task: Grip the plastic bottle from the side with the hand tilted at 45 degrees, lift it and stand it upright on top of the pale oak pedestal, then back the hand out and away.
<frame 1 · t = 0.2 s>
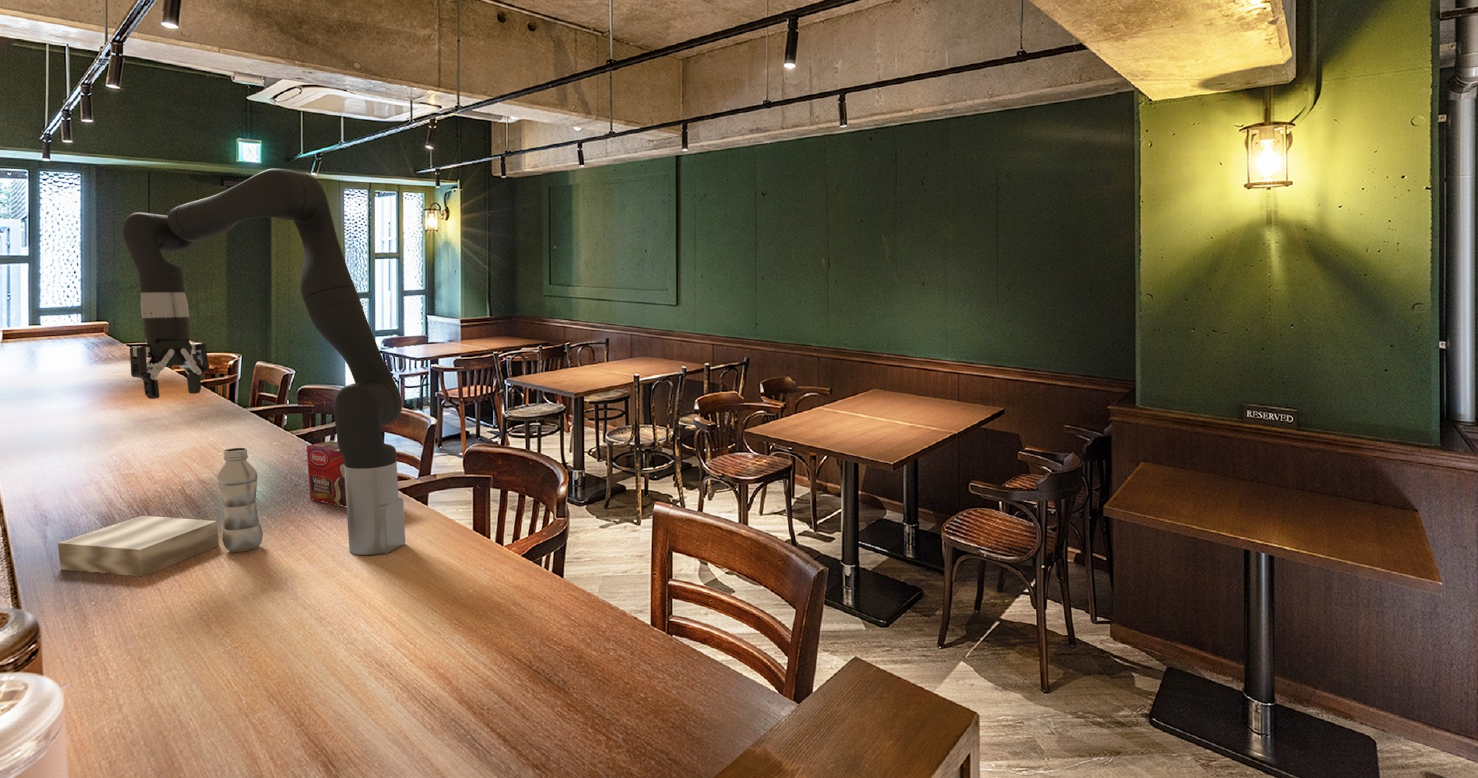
hand: (174, 395, 149), 29 cm above the table, tool pointing down, fingers open, 8 cm apart
ice cream box: (350, 503, 175), on the table
oak pedestal: (143, 556, 139), on the table
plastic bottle: (244, 550, 144), on the table
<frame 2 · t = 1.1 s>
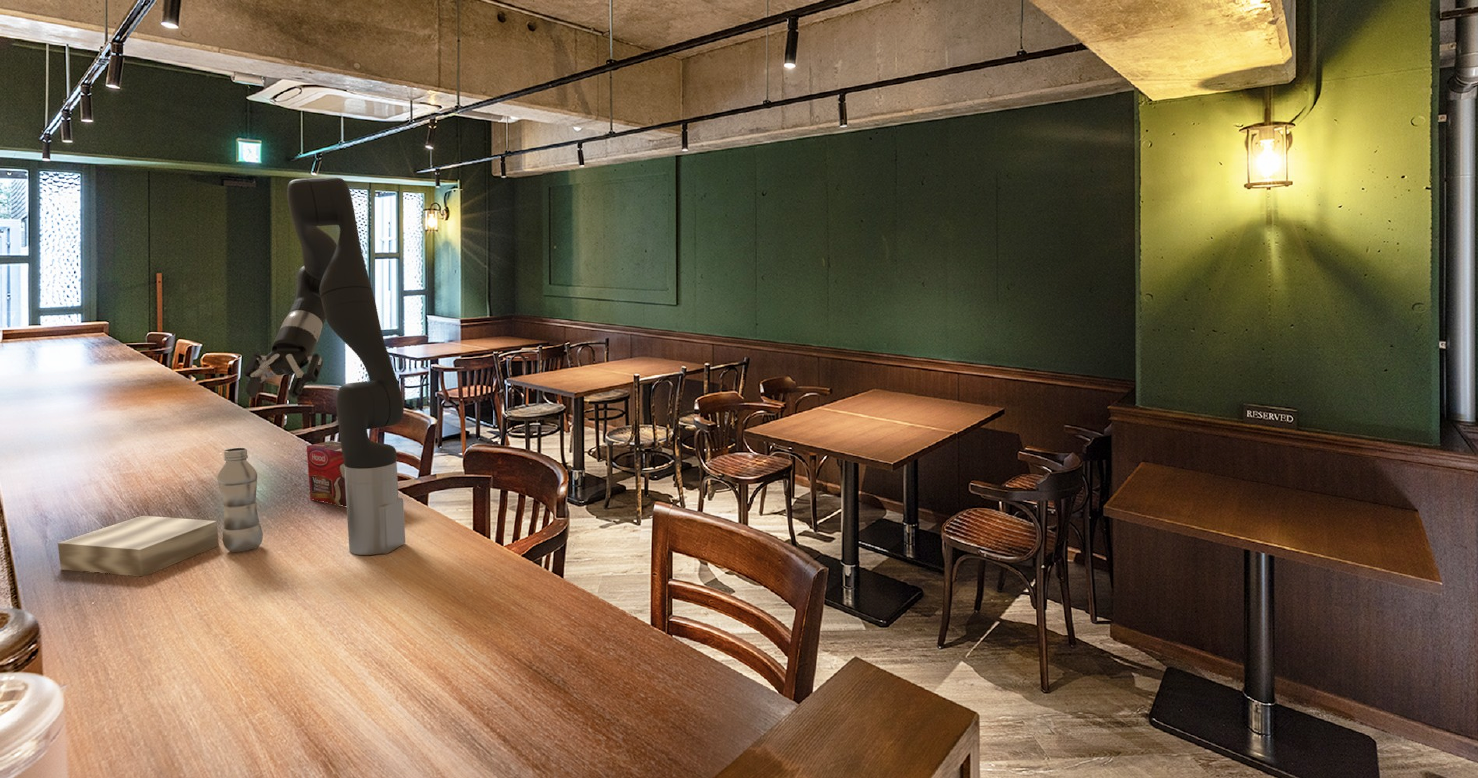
hand: (271, 395, 152), 29 cm above the table, tool tilted 45°, fingers open, 8 cm apart
nothing on the table moved.
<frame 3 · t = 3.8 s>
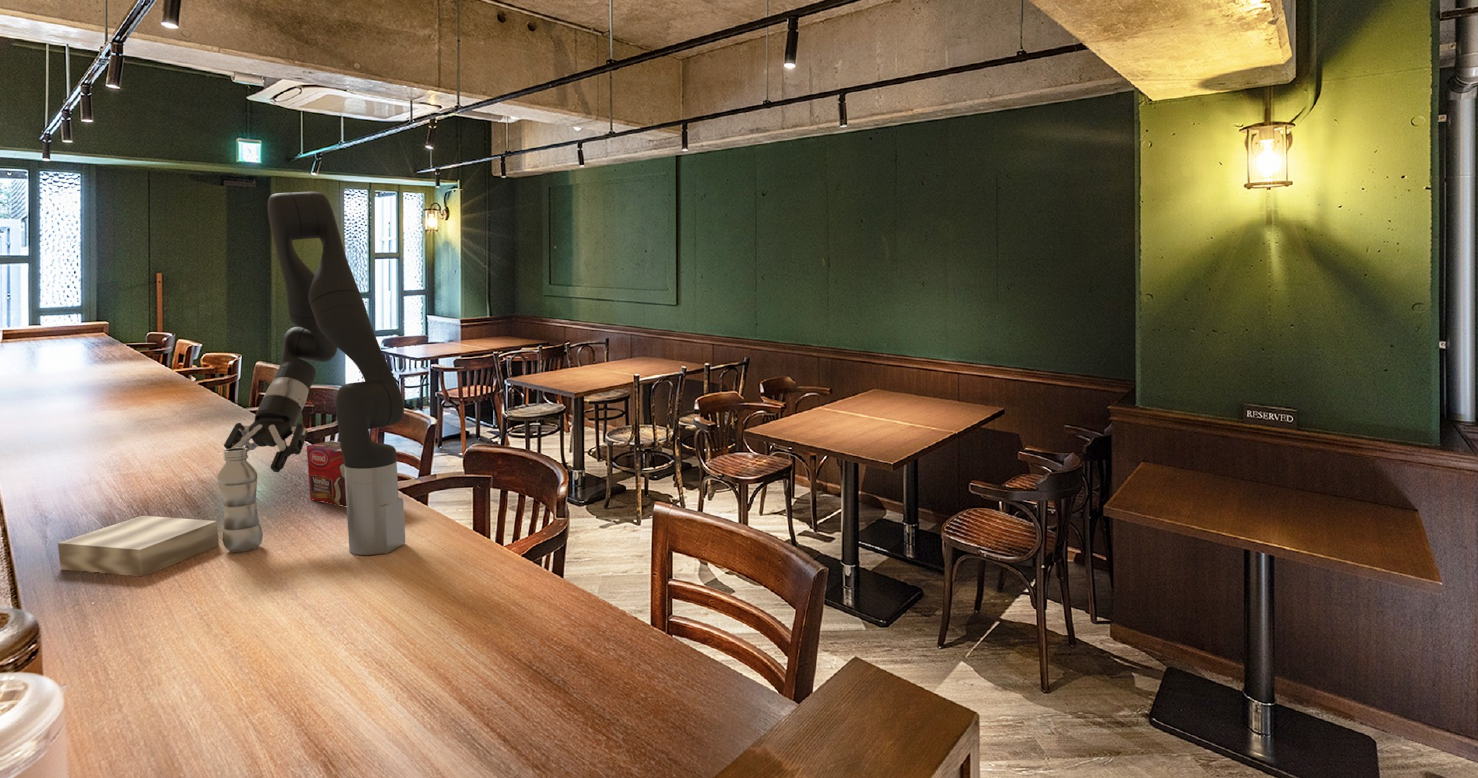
hand: (252, 470, 146), 15 cm above the table, tool tilted 45°, fingers open, 8 cm apart
nothing on the table moved.
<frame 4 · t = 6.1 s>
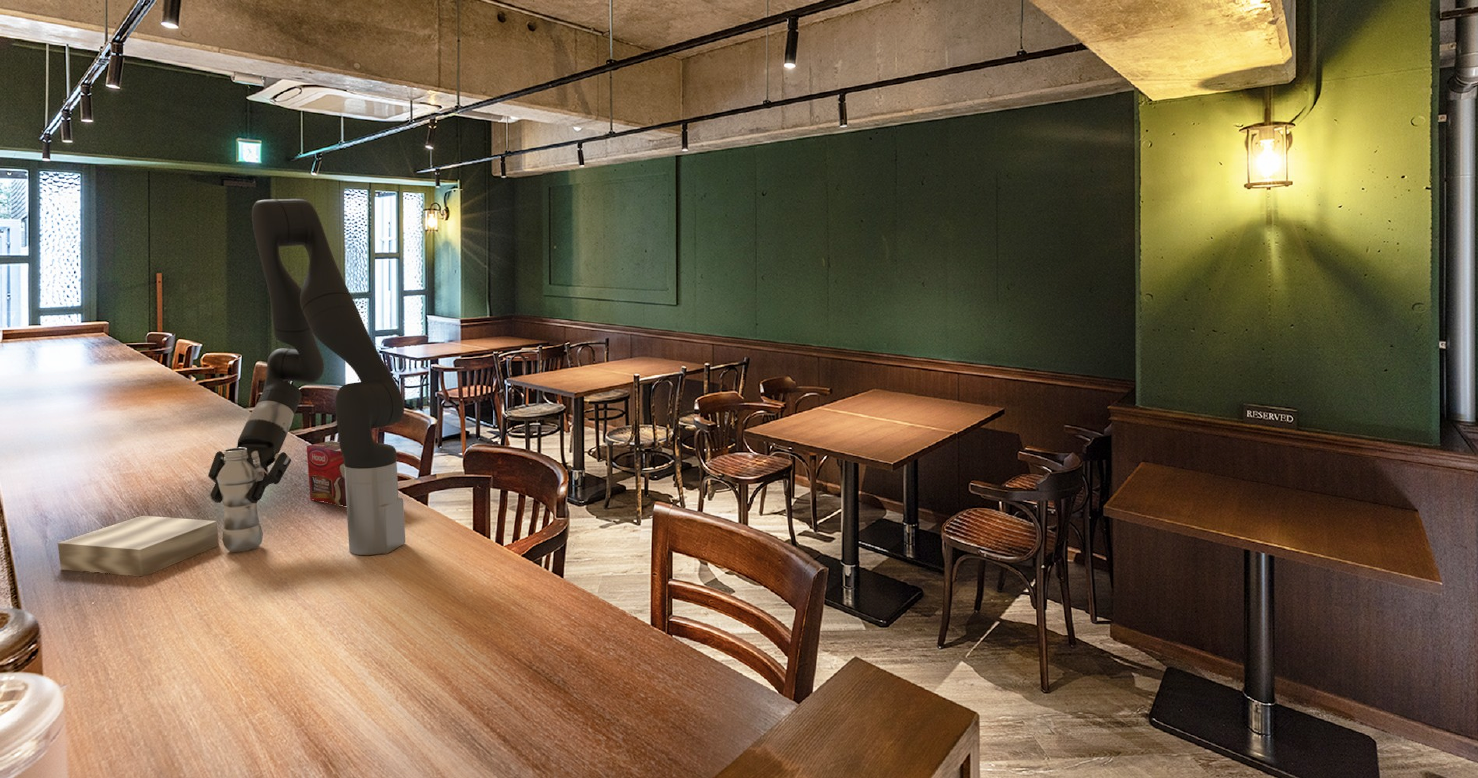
hand: (233, 500, 141), 10 cm above the table, tool tilted 45°, fingers closed on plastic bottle, 6 cm apart
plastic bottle: (243, 550, 144), on the table, touching gripper
everything else where it was.
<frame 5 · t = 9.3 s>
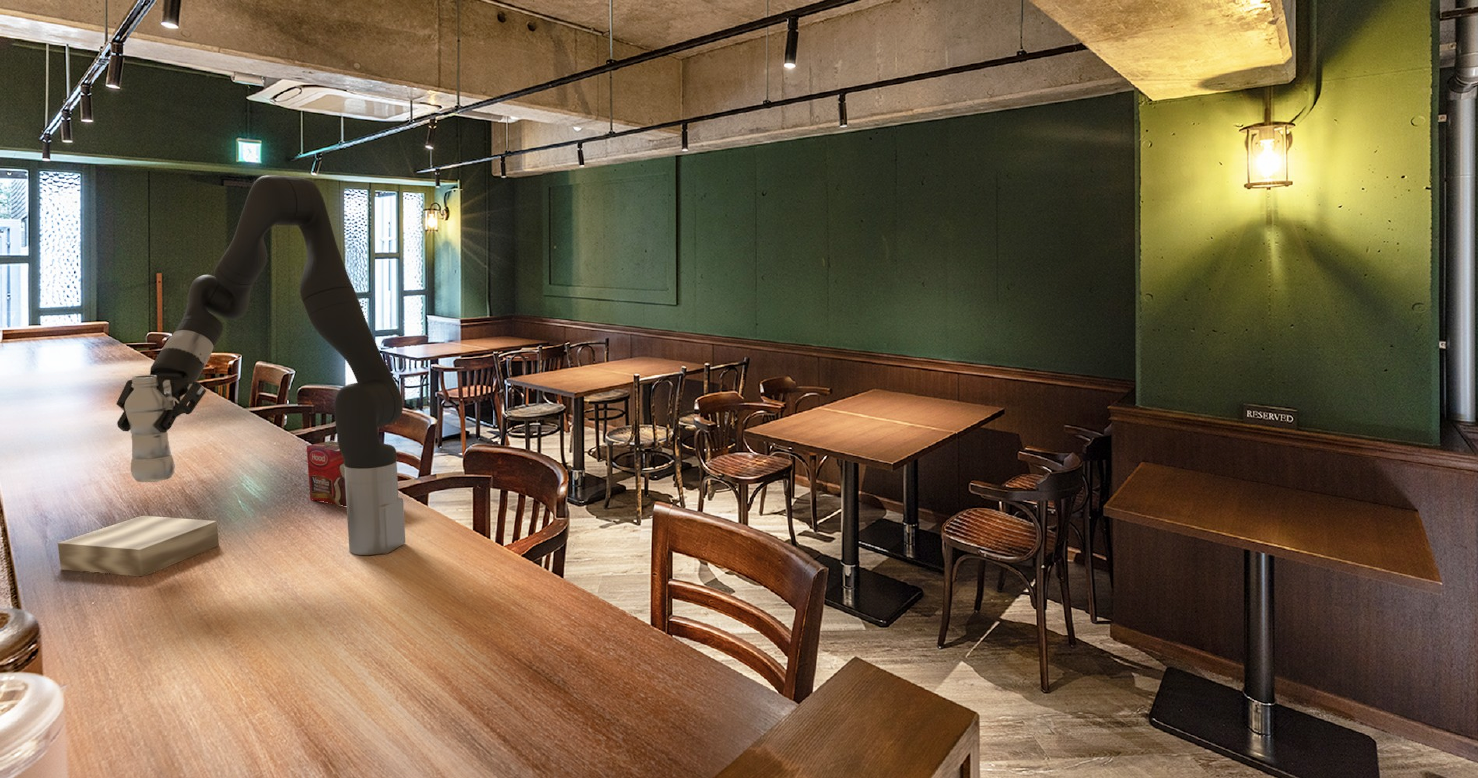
hand: (141, 429, 135), 25 cm above the table, tool tilted 45°, fingers closed on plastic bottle, 6 cm apart
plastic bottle: (154, 482, 139), point 14 cm above the table, touching gripper
everything else where it was.
when the fingers open (17 cm above the table, at t = 12.3 s): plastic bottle drops 1 cm, resting on oak pedestal.
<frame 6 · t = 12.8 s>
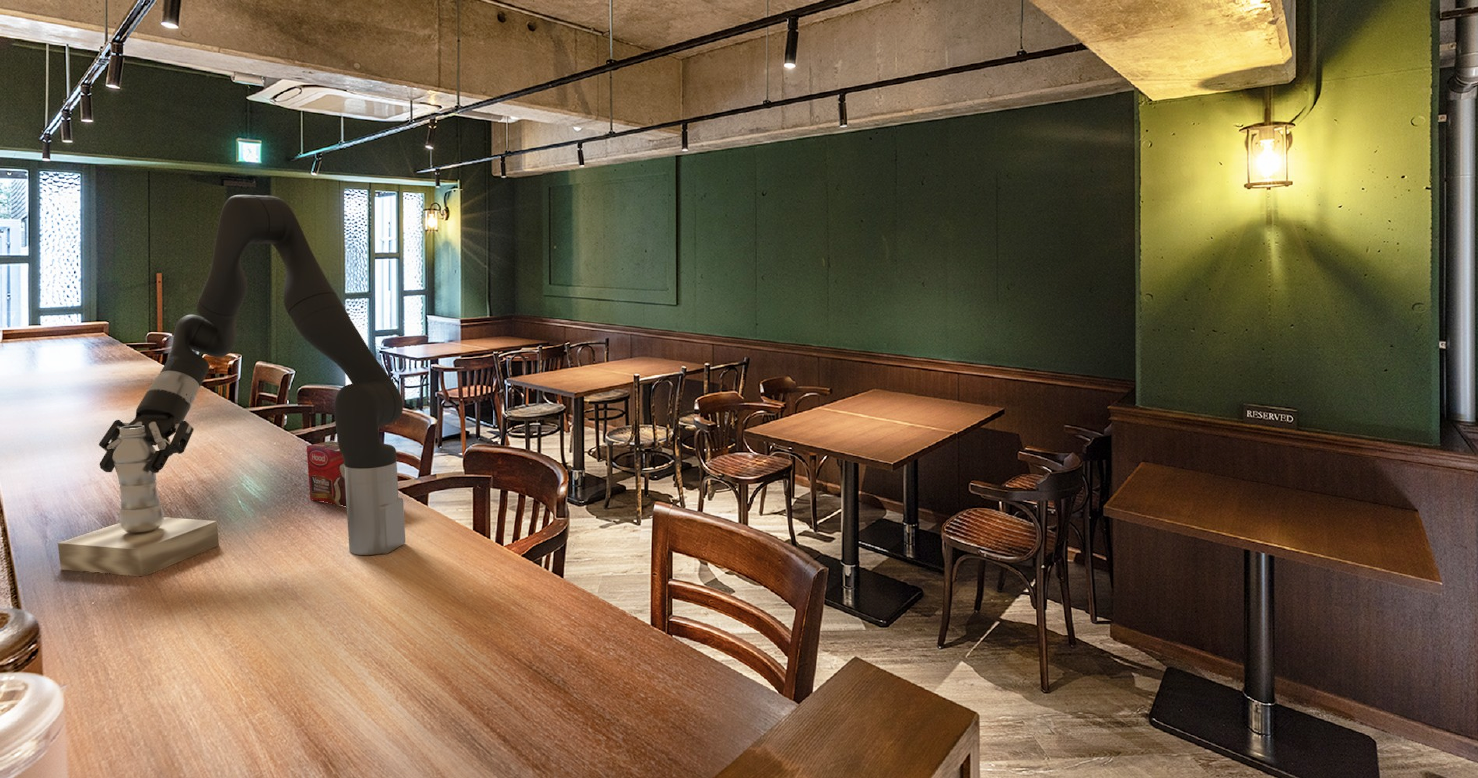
hand: (128, 470, 135), 17 cm above the table, tool tilted 45°, fingers open, 8 cm apart
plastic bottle: (143, 532, 139), point 5 cm above the table, touching oak pedestal
everything else where it was.
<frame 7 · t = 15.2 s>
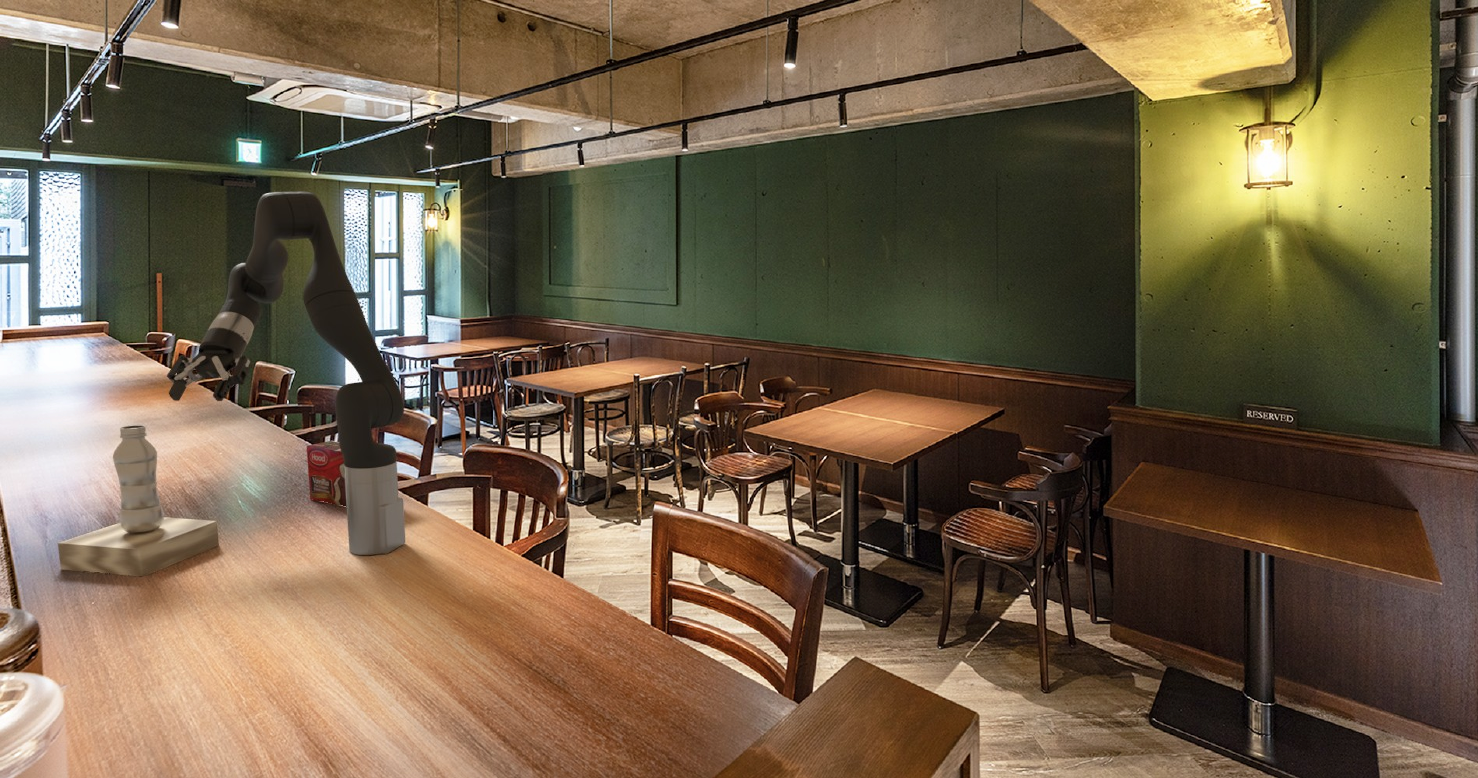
hand: (195, 398, 148), 28 cm above the table, tool tilted 45°, fingers open, 8 cm apart
nothing on the table moved.
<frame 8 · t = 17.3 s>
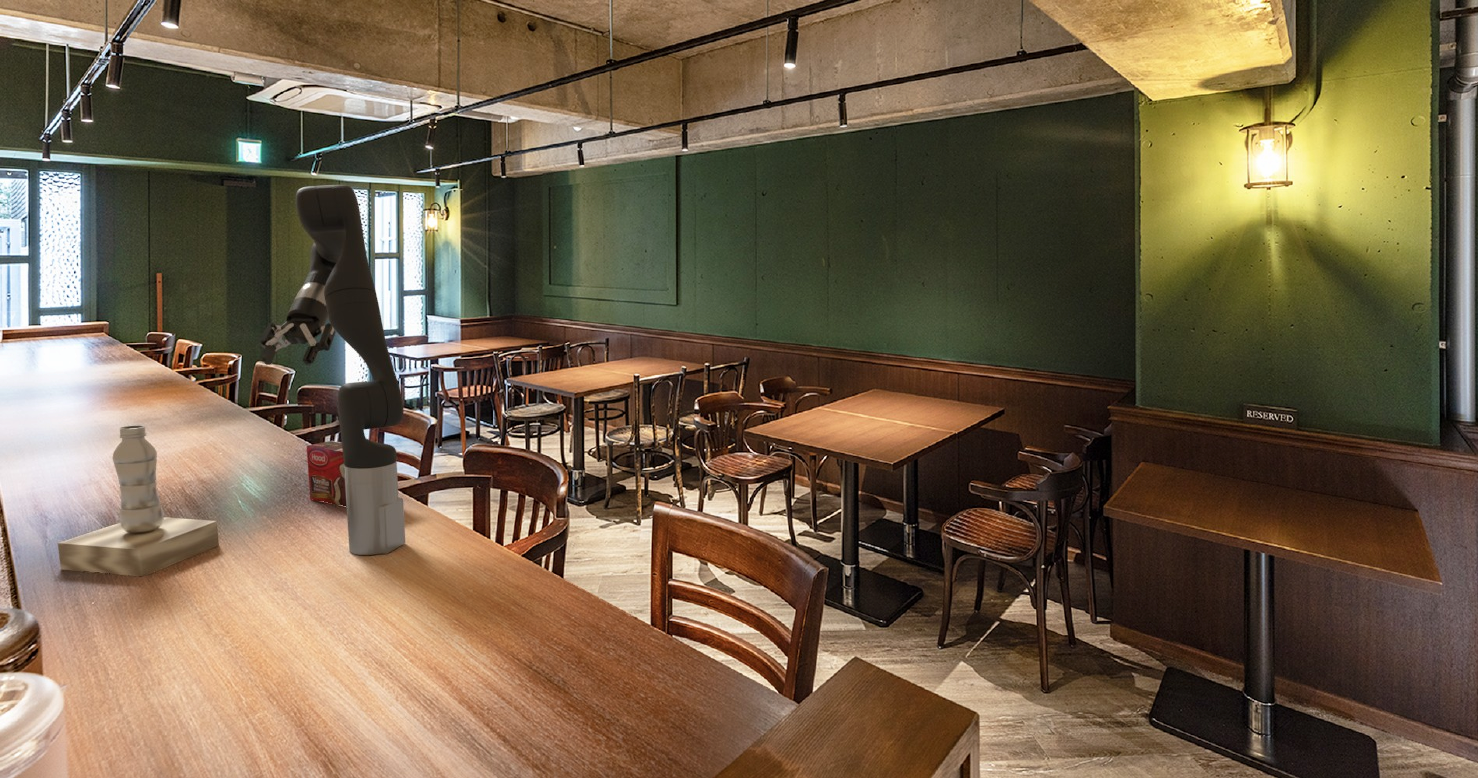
hand: (286, 362, 158), 35 cm above the table, tool tilted 45°, fingers open, 8 cm apart
nothing on the table moved.
at the end: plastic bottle inside the target area on the oak pedestal (0.4 cm from its centre), point 4.8 cm above the oak pedestal's base; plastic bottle tilted 0°; the gripper is holding nothing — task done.
